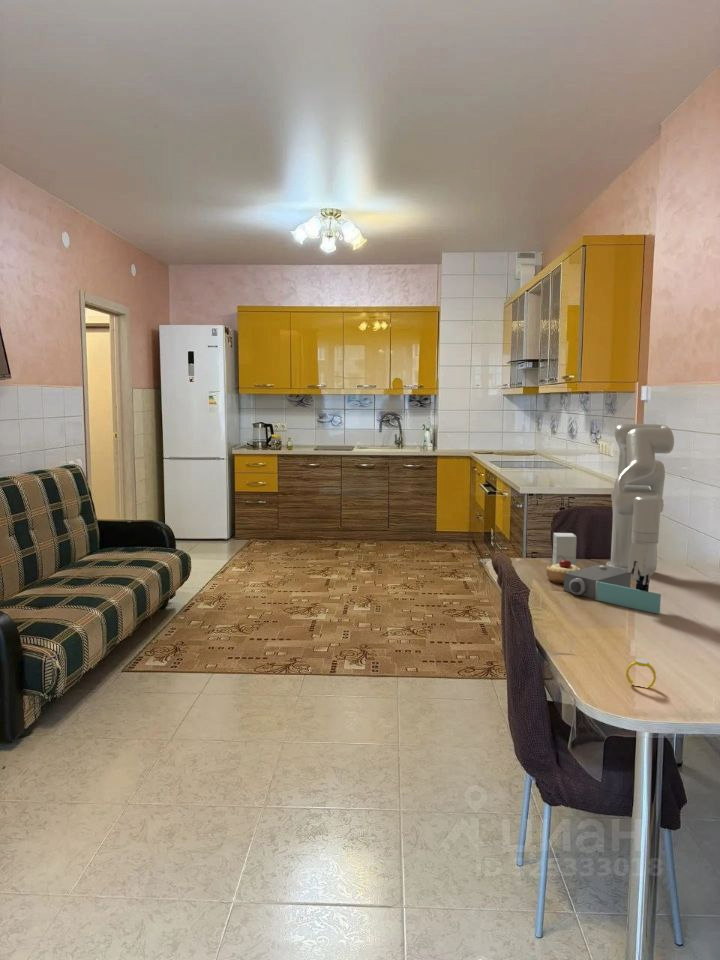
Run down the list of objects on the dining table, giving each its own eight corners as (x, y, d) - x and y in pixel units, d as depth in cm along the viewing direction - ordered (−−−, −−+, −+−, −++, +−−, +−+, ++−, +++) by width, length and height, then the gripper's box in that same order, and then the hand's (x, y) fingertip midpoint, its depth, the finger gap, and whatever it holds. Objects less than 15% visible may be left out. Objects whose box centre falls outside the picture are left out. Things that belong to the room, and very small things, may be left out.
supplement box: (571, 565, 265) (573, 532, 263) (575, 569, 257) (577, 536, 256) (551, 564, 265) (553, 532, 264) (555, 569, 258) (556, 536, 257)
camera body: (598, 581, 241) (599, 562, 240) (630, 588, 232) (631, 569, 231) (559, 592, 227) (559, 571, 226) (591, 600, 218) (592, 579, 217)
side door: (659, 613, 204) (661, 594, 204) (658, 614, 204) (659, 594, 203) (596, 598, 219) (597, 581, 218) (594, 599, 218) (595, 581, 217)
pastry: (568, 588, 233) (570, 563, 232) (539, 581, 242) (540, 556, 241) (588, 581, 241) (589, 557, 240) (558, 574, 250) (559, 550, 249)
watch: (654, 687, 152) (658, 662, 151) (653, 692, 150) (657, 666, 149) (625, 680, 155) (629, 655, 154) (624, 685, 152) (627, 659, 151)
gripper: (643, 532, 216) (640, 589, 218) (621, 538, 206) (618, 598, 208) (668, 535, 210) (664, 594, 212) (646, 542, 200) (642, 604, 202)
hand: (641, 596), depth 210 cm, fingers closed
